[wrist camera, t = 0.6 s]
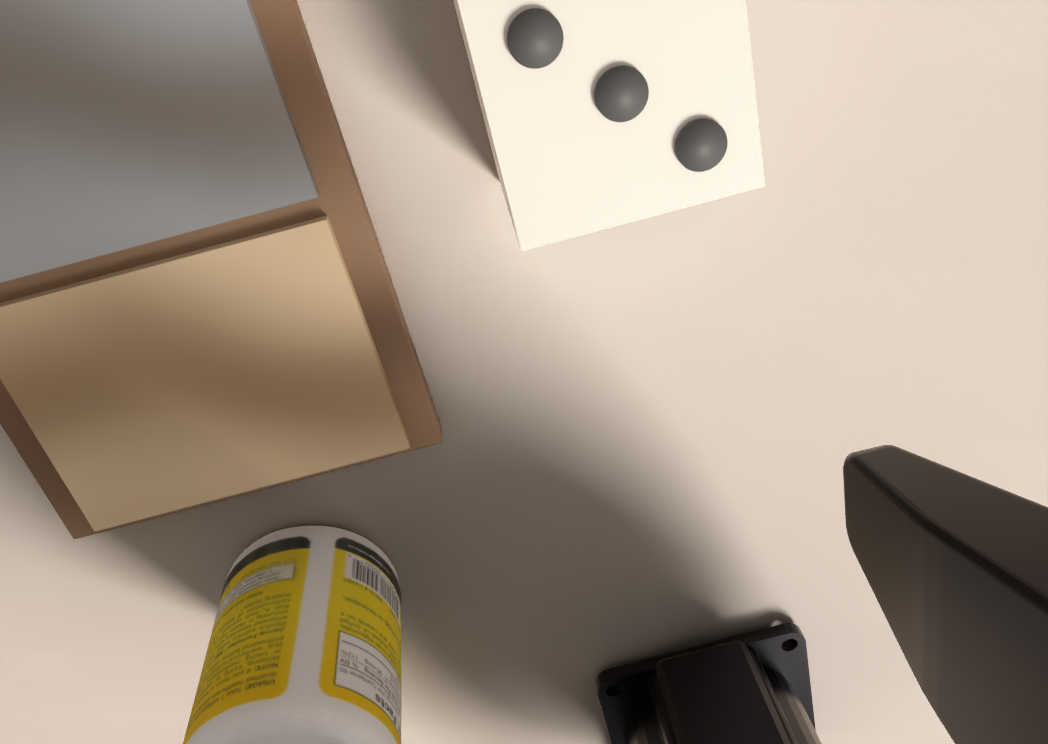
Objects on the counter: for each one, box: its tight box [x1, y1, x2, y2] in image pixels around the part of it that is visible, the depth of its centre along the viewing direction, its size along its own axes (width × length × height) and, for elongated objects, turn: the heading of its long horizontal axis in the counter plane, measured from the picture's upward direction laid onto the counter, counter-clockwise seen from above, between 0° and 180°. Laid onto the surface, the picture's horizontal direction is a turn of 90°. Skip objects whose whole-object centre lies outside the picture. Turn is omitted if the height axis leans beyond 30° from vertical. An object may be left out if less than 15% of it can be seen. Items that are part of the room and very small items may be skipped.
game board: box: [0, 0, 442, 539], centre depth 17 cm, size 20×10×1 cm, turn 13°
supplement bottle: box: [183, 526, 401, 744], centre depth 21 cm, size 5×5×8 cm
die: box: [453, 0, 765, 251], centre depth 17 cm, size 4×4×5 cm
